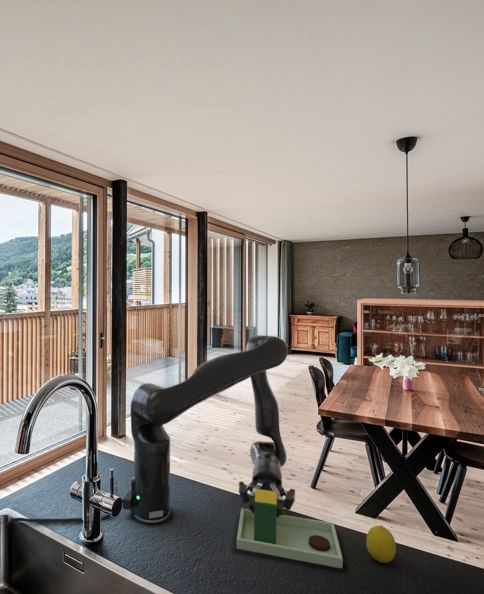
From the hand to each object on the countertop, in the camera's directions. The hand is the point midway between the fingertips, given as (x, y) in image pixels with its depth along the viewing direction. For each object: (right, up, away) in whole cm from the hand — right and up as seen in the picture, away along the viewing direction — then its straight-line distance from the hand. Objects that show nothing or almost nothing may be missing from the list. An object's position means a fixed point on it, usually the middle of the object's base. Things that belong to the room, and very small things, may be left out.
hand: (265, 511), depth 93 cm
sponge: (+1, -7, +3) cm, 7 cm away
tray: (+5, -8, +1) cm, 10 cm away
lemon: (+23, -8, -5) cm, 25 cm away
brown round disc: (+12, -7, -1) cm, 14 cm away
